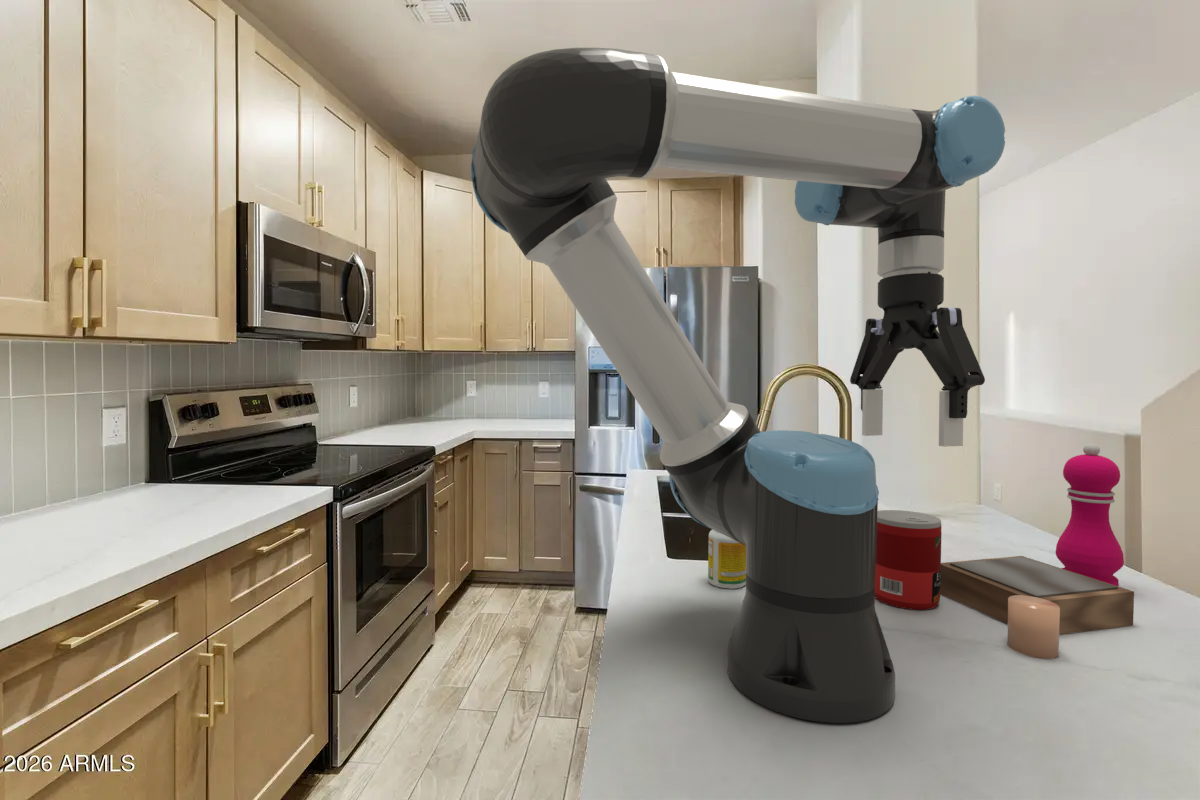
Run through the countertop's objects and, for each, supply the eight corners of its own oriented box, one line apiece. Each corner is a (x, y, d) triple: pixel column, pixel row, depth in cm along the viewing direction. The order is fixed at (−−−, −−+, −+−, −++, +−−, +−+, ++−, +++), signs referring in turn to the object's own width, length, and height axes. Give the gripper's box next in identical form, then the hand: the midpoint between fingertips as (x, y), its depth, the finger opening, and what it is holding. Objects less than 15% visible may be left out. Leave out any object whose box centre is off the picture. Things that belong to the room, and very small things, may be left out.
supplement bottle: (700, 581, 82) (700, 515, 82) (724, 573, 85) (724, 510, 85) (730, 592, 78) (731, 522, 78) (754, 583, 81) (755, 516, 81)
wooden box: (1037, 637, 64) (1037, 599, 64) (937, 592, 78) (937, 561, 78) (1133, 625, 67) (1134, 589, 67) (1021, 583, 81) (1021, 554, 81)
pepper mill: (1126, 600, 75) (1130, 447, 74) (1055, 588, 79) (1059, 444, 78) (1119, 584, 80) (1123, 442, 80) (1054, 574, 85) (1057, 439, 84)
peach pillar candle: (1035, 660, 59) (1036, 612, 59) (997, 642, 63) (998, 597, 63) (1069, 656, 60) (1070, 609, 60) (1029, 637, 64) (1030, 593, 64)
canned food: (949, 613, 71) (951, 525, 70) (880, 608, 72) (881, 522, 72) (927, 590, 78) (928, 511, 78) (864, 586, 80) (865, 508, 80)
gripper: (1025, 257, 63) (1021, 450, 63) (869, 291, 87) (868, 431, 88) (967, 254, 61) (964, 452, 62) (825, 290, 85) (824, 432, 86)
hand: (908, 440), depth 75 cm, fingers open, 13 cm apart
